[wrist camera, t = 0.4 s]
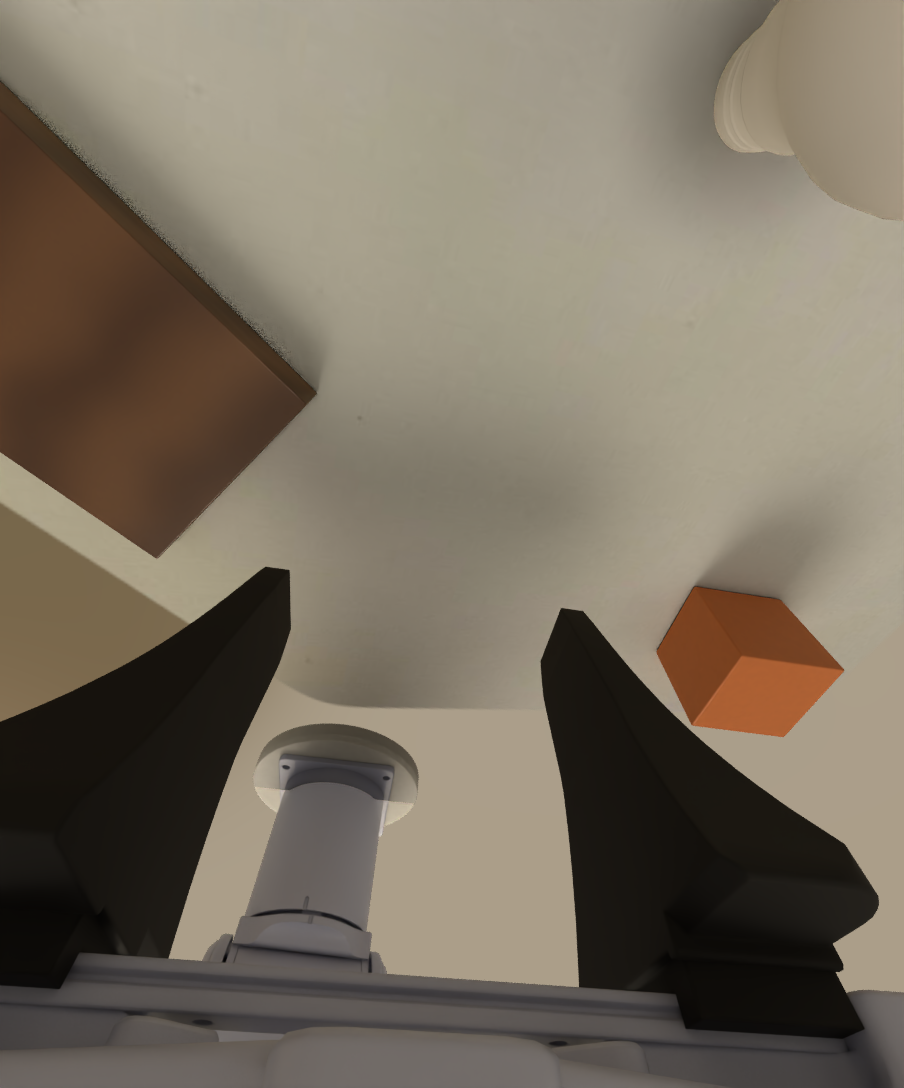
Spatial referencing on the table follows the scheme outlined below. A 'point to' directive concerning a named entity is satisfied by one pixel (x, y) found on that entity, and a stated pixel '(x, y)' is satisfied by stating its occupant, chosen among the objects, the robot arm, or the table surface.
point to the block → (744, 663)
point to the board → (119, 351)
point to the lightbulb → (824, 97)
